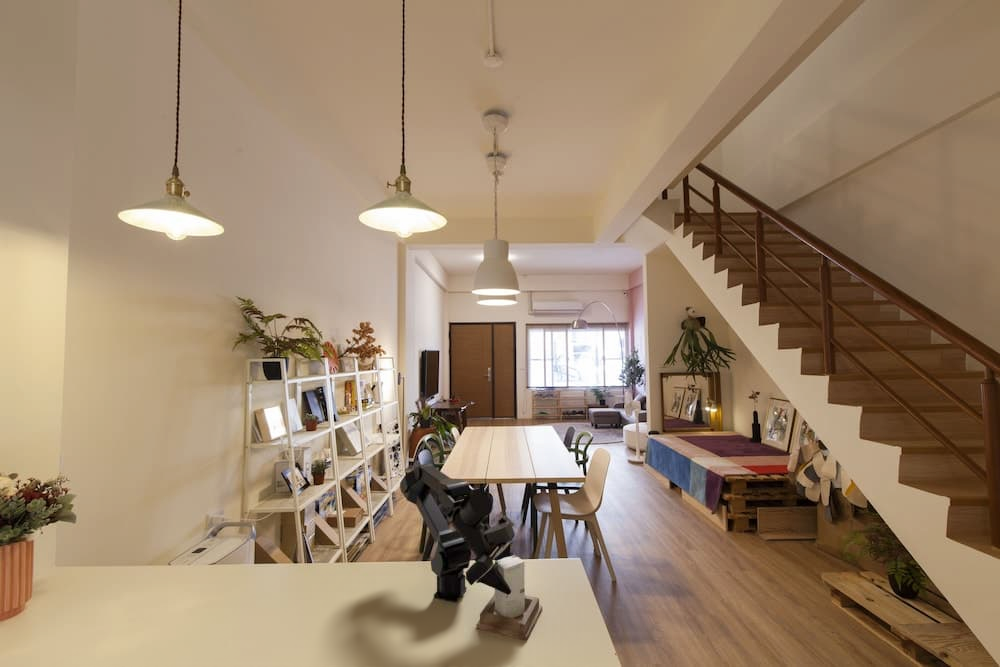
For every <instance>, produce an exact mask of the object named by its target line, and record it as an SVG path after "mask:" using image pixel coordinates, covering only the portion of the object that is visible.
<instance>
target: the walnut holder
mask: <svg viewBox="0 0 1000 667" xmlns="http://www.w3.org/2000/svg"><path fill="white" fill-rule="evenodd" d="M542 610H543V605H541V604H540V598H539V597H536V596H532V595H526V594H525V613H524V614H522V615H520V616H517V617H515V618H509V617H505V616H501V615H497V614H496V613H495V593H493V595H492V596H491V598H490V599H489V600H488V602H487V604H485V606H484V607H483V609H482V610H481V612H480V613H479V620H477V623H476V628H477V629H481V630H484V631H489V632H493V633H497V634H500V635H504V636H509V637H513V638H517V639H521V640H525V641H527V640H528V639H529V637H530V635H531V633H532V631H533V628H534V627H535V625H536V622H537V620H538V619H539V617H540V614H541V612H542Z"/></svg>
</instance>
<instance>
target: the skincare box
mask: <svg viewBox="0 0 1000 667" xmlns="http://www.w3.org/2000/svg"><path fill="white" fill-rule="evenodd" d="M497 561H498V571H499V572H500V574H501V575H502V577H503V578H504V580H505V581H506V583H507V584H508V586H509V588H510V589H511V593H510V594H509V595H507V594H505V593H503V592H501V591H499V590H497V589H495V588H494V594H495V613H496V614H497V615H501V616H505V617H509V618H515V617H517V616H520V615H522V614H524V613H525V595H526V594H525V589H526V588H525V586H526V585H525V561H524V560H523V559H521V558H520V557H518V556H517V555H516V554H515V555H514V554H513V556H510V557H505V558H503V559H500V560H497ZM497 561H495V560H494V564H495V563H496V562H497Z"/></svg>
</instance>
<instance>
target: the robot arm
mask: <svg viewBox="0 0 1000 667" xmlns="http://www.w3.org/2000/svg"><path fill="white" fill-rule="evenodd" d="M399 488H400V492H401V494H403V497H404V498H405V499H406V501H407V502H409V503H412V504H414V505H415V506H416V507H417V509H418V511H419V513H420V515H421V517H422V519H423V521H424V523H425V525H426V526H427V529H428V530H429V533H430V534H431V536H432V539H433V540H434V543H435V550H434V556H433V557H432V559H431V560H430V567H431V571H432V572H433V573H434V574H435V575H436V591H435V593H434V594H433V598H435V599H439V600H443V599H444V600H443V601H448V602H449V601H450V602H451V603H453V602H454V603H456V602H458V600H459V599H460V598H461V597H462V596H463V594H464V593H465V592H466V591H467V586H466V581H467V582H468V584H469V585H470V586H472V585H474V583H476V584H479V583H480V584H483V585H486V586H488V587H490V588H493V589H494V590H495V589H497V590H499V591H501V592H503V593H505V594H507V595H509V594H510V593H511V589H510V588H509V586H508V584H507V583H506V581H505V580H504V578H503V577H502V575H501V574H500V572H499V571H498V561H497V560H500V559H503V558H505V557H510V556H513V555H514V553H513V549H514V548H513V547H514V540H513V539H514V538H515V537H516V535H515V534H516V533H515V529H514V528H513V526H514V525H515V524H514V522H512V521H511V519H510V518H509V517H508V516H507V515H503V516H501V517H500V518H499V519H498V523H496V524H495V525H494V526H491V525H490V524H489V523H487V522H486V523H482V522H483V521H484V520H485V519H486V518H487V517H488V516H489V515H490V514H491V513H492V511H493V505H494V504H493V500H492V499H491V497H489V496H488V495H487V494H486V493H483V492H481V490H480V487H477V488H473V487H472V486H471V485H470V484H469V482H468V481H467V480H464V479H461V478H452V477H449V476H448V475H446V474H445V473H444V472H442V471H441V470H439V469H438V468H437V467H435V466H434V464H433V463H431V462H429V463H422V464H418V465H417V466H414V468H413V469H412V470H411V471H410V472H408V473H407V474H405V475H404V476H403V478H402V479H401V481H400V484H399ZM431 490H433V491H435V493H437V494H438V501H439V503H440V504H441V505H442V507H444V508H445V509H448V510H449V509H452V510H450V511H449V512H448V513H447V514H446V518H445V517H444V515H443V514H442V512H441V510H440V508H439V506H438V504H437V503H436V501H435V499H434V497H433V496H432V494H431ZM456 507H457V508H456ZM453 508H456V509H455V510H453ZM451 525H452V526H453V528H454V530H452V529H451V527H450V526H451ZM472 553H473V554H474V555H475V558H474V561H475V562H474V563H473V564H472V565H471V566H470V563H471V558H472ZM495 561H497V562H496V563H495ZM466 569H467V570H466ZM464 570H466V571H464ZM464 572H465V574H464Z"/></svg>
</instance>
